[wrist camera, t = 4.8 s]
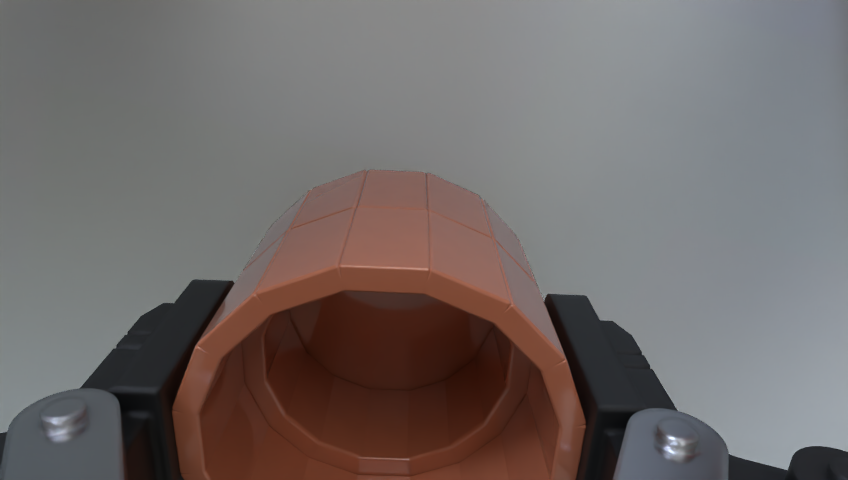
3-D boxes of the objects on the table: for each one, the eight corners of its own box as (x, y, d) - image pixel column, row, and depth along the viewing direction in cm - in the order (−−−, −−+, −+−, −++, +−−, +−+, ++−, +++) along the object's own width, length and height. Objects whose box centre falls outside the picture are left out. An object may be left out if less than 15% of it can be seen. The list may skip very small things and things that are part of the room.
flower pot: (265, 398, 15) (194, 587, 10) (250, 156, 12) (148, 256, 8) (512, 407, 15) (554, 598, 10) (543, 170, 12) (616, 276, 8)
